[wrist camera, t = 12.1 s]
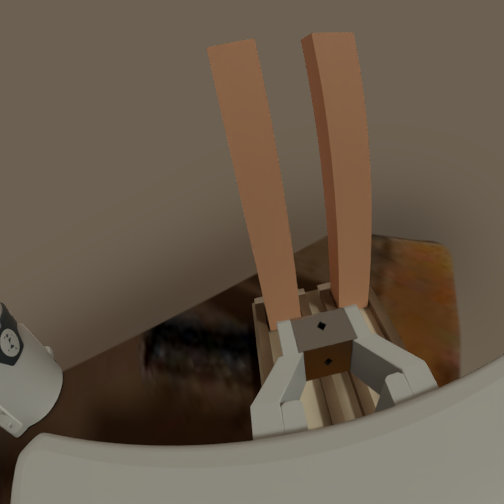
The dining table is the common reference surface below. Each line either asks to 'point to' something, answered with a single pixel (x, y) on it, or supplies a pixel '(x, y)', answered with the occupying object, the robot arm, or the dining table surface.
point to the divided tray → (333, 386)
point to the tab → (257, 173)
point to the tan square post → (342, 161)
